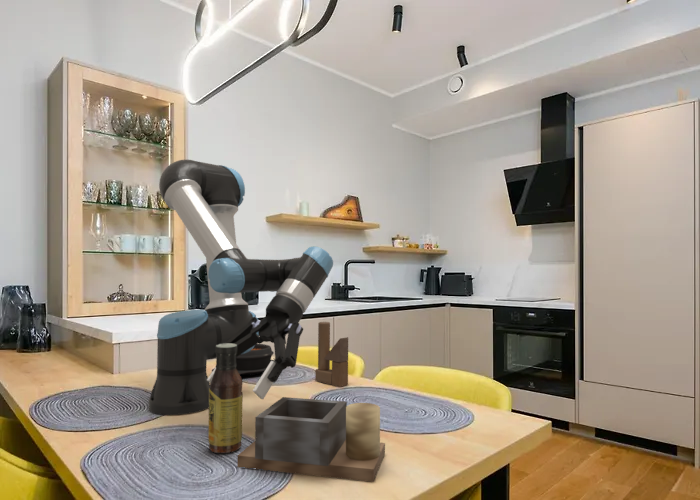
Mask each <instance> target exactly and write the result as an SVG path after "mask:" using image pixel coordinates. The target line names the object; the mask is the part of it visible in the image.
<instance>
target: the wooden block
mask: <svg viewBox="0 0 700 500" xmlns="http://www.w3.org/2000/svg"><path fill="white" fill-rule="evenodd" d="M317 329H318V330H317V331H318V332H317V335H318V337H317V340H318V342H317V343H318V345H317V347H318V348H317V357H318V358H317V369H315V373H314V374H315V377H314V378H315V379H314V381H316V382H318V383H323V384H325V385H326V384H327V385H330V386H333V387H336V388H337V387H338V388H342V387H347V386H349V337H342V338H341V337H340V338H339V339H338V341H336V343H335V344H334V345H333V346H332V347H331V323H330V322H329V321H319V322H318V328H317ZM330 362H331V363H330ZM330 364H331V365H330ZM330 366H331V367H330Z"/></svg>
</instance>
